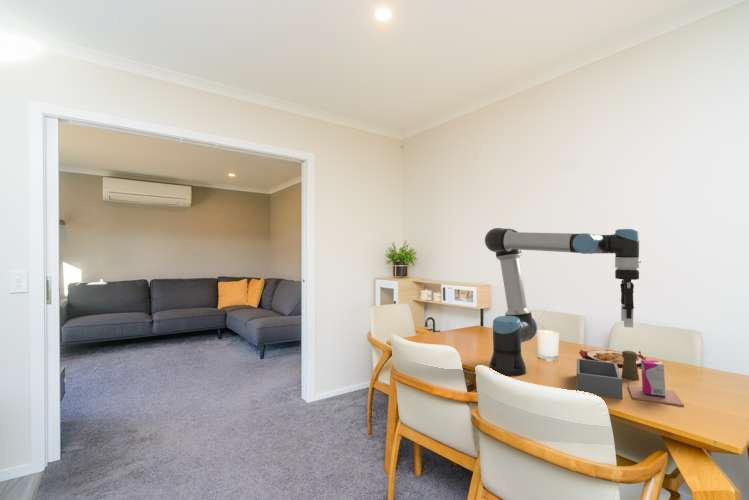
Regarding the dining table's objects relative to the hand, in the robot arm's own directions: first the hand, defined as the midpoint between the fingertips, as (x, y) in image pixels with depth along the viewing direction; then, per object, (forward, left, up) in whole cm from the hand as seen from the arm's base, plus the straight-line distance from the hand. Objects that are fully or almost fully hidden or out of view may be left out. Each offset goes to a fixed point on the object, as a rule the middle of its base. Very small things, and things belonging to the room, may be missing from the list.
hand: (626, 323), depth 138 cm
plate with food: (-2, +38, -25) cm, 46 cm away
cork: (+2, +12, -24) cm, 27 cm away
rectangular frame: (-10, -5, -24) cm, 27 cm away
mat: (+7, -7, -24) cm, 26 cm away
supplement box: (+7, -6, -24) cm, 25 cm away
